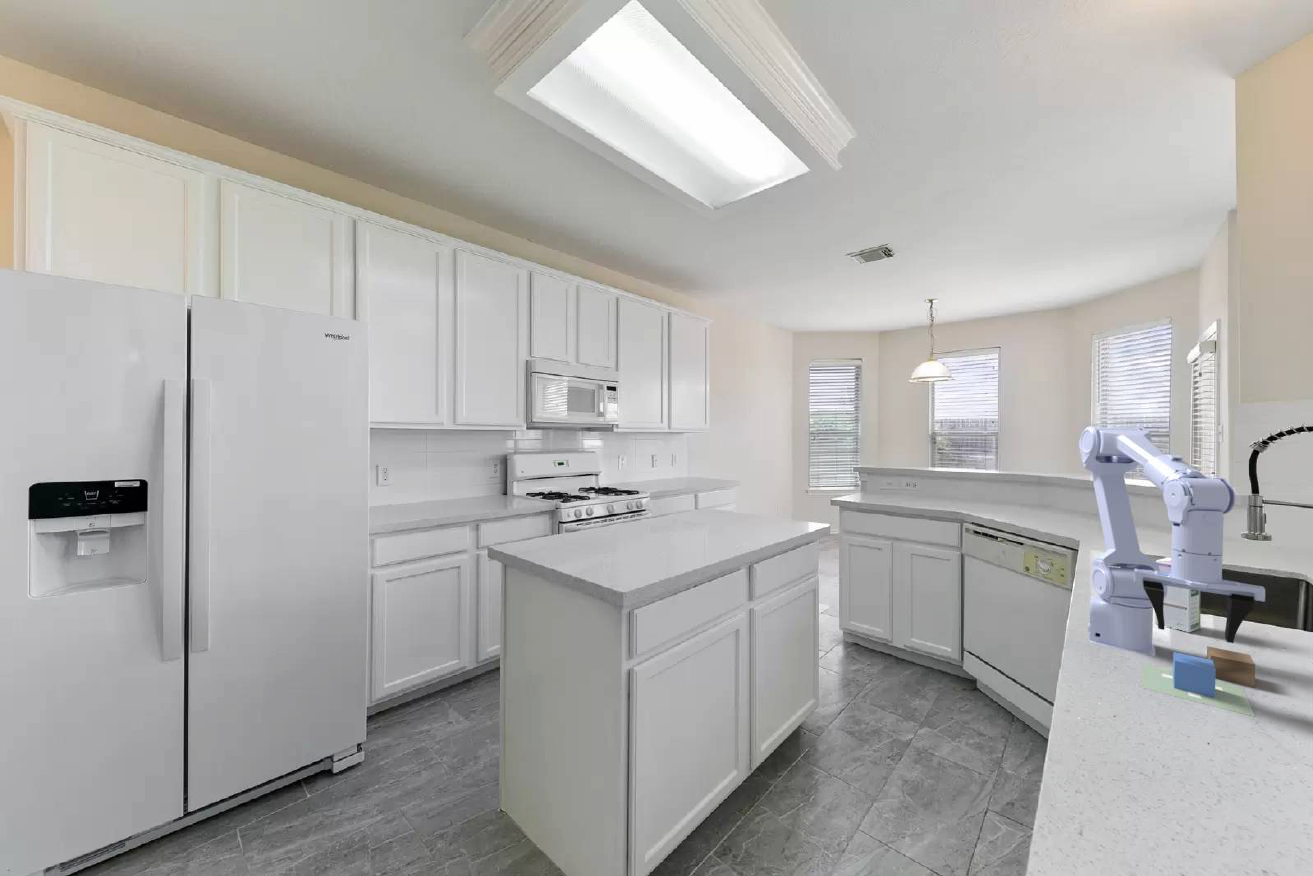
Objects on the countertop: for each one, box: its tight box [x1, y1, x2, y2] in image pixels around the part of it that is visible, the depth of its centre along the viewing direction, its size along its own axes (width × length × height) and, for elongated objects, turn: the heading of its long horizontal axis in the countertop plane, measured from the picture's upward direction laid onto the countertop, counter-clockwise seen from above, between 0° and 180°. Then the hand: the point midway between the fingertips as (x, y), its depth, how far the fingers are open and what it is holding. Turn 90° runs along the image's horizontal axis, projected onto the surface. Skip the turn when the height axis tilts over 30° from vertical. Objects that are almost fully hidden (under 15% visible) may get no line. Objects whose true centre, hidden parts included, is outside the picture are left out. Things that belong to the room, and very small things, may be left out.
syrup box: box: [1154, 556, 1202, 633], centre depth 111 cm, size 6×6×14 cm
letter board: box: [1141, 663, 1256, 718], centre depth 84 cm, size 12×12×1 cm
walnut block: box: [1206, 646, 1256, 688], centre depth 87 cm, size 5×5×4 cm
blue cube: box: [1172, 651, 1216, 698], centre depth 83 cm, size 4×4×4 cm
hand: (1194, 634), depth 83 cm, fingers open, 7 cm apart
